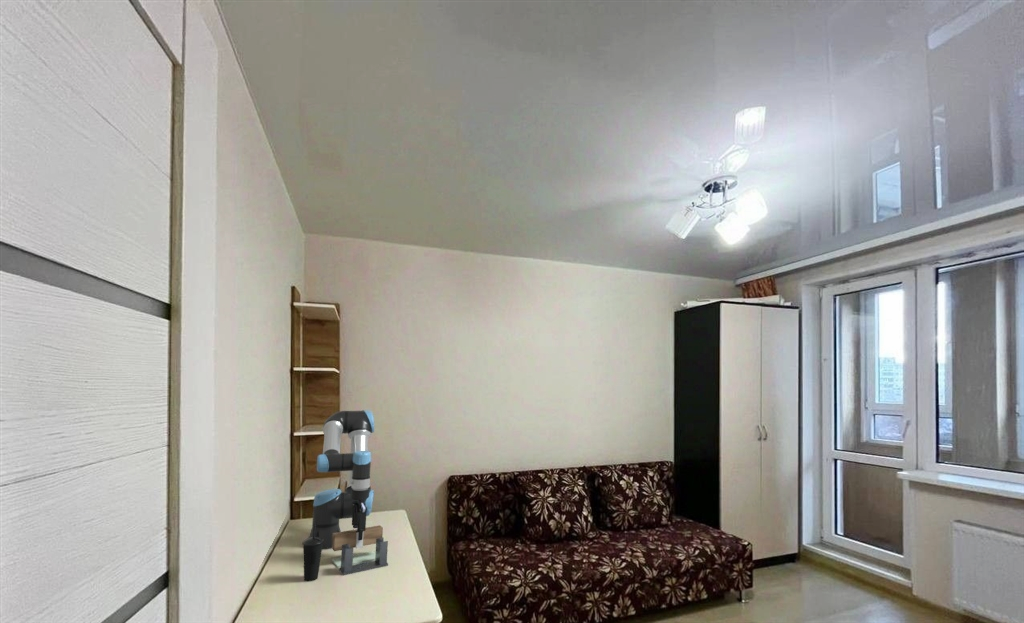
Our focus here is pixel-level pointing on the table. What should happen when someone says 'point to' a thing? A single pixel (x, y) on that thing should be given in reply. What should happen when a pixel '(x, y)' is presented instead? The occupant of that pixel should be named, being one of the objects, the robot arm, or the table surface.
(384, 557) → the rack
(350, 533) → the rail
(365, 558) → the mat
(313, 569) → the drinking cup
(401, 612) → the table surface
